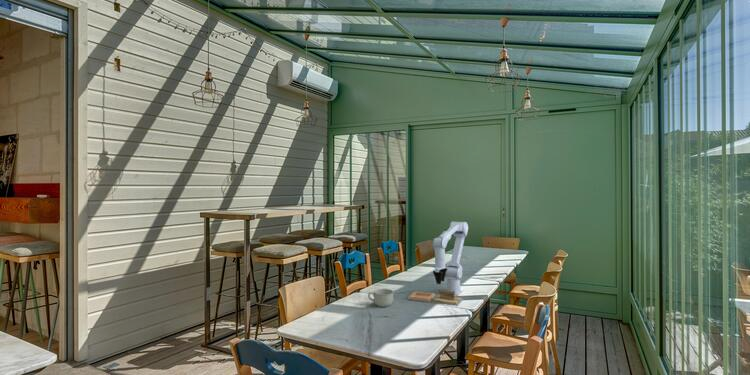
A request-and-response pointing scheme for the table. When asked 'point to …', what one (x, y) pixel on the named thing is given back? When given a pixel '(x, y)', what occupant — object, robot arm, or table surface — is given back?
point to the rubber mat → (450, 304)
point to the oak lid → (447, 297)
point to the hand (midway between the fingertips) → (440, 282)
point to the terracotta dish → (421, 296)
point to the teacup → (382, 297)
